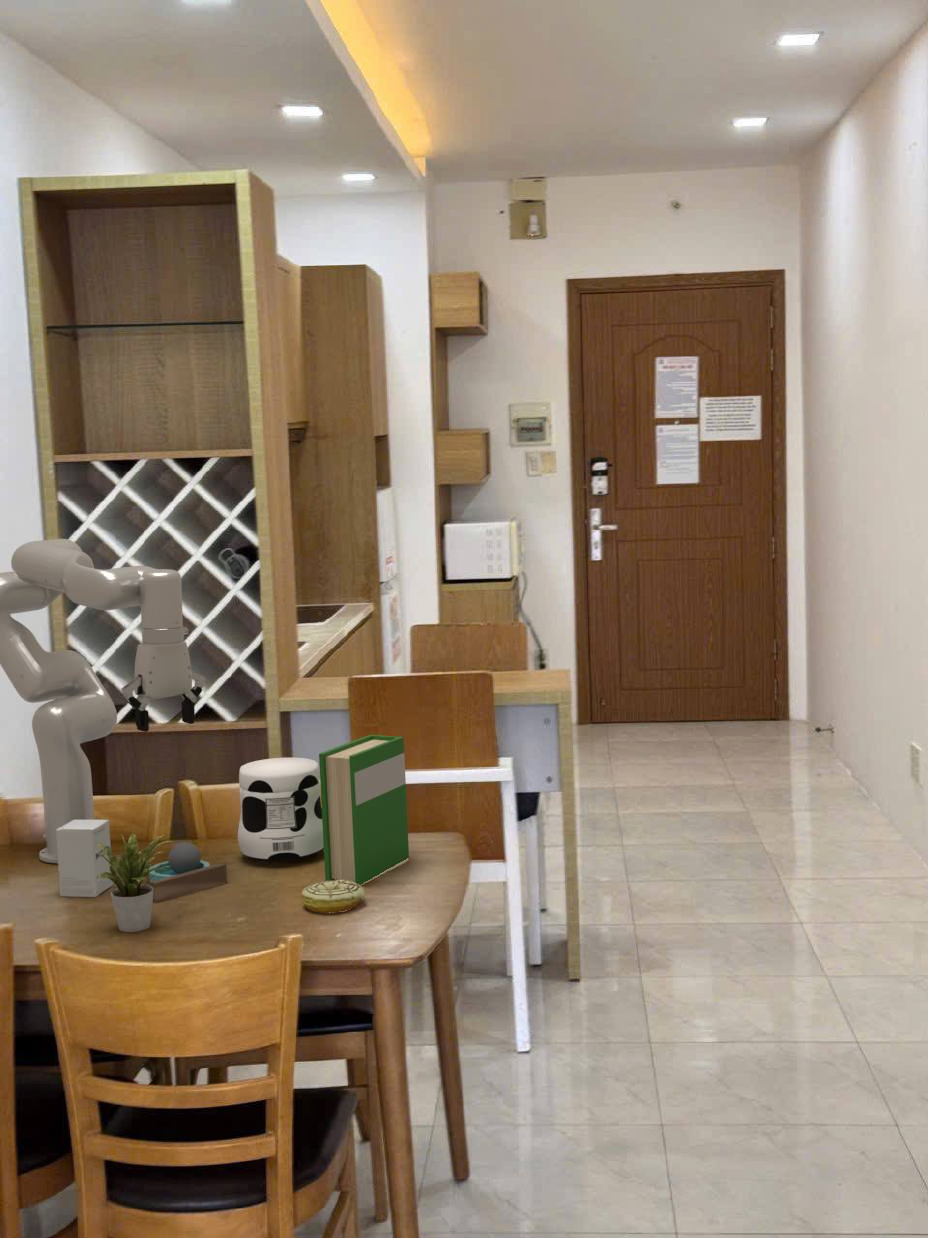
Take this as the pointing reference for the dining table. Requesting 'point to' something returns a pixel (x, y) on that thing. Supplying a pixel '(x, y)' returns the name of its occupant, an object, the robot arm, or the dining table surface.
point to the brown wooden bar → (189, 882)
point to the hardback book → (364, 808)
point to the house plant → (132, 884)
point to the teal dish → (168, 870)
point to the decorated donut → (332, 896)
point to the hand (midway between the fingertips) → (165, 726)
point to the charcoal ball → (184, 857)
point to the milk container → (280, 810)
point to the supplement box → (83, 857)
